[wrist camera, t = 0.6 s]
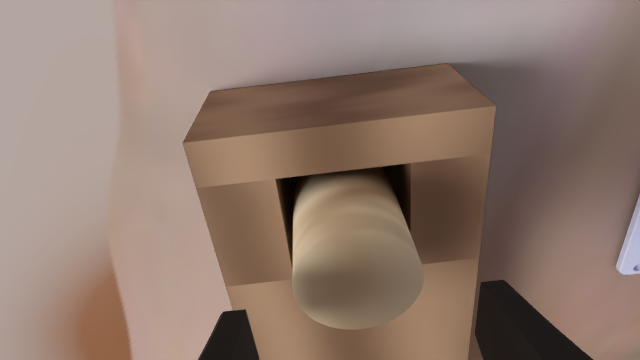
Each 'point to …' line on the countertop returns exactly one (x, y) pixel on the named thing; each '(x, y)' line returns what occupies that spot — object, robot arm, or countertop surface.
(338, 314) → the peg
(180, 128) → the countertop surface
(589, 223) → the countertop surface
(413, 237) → the collar bar
